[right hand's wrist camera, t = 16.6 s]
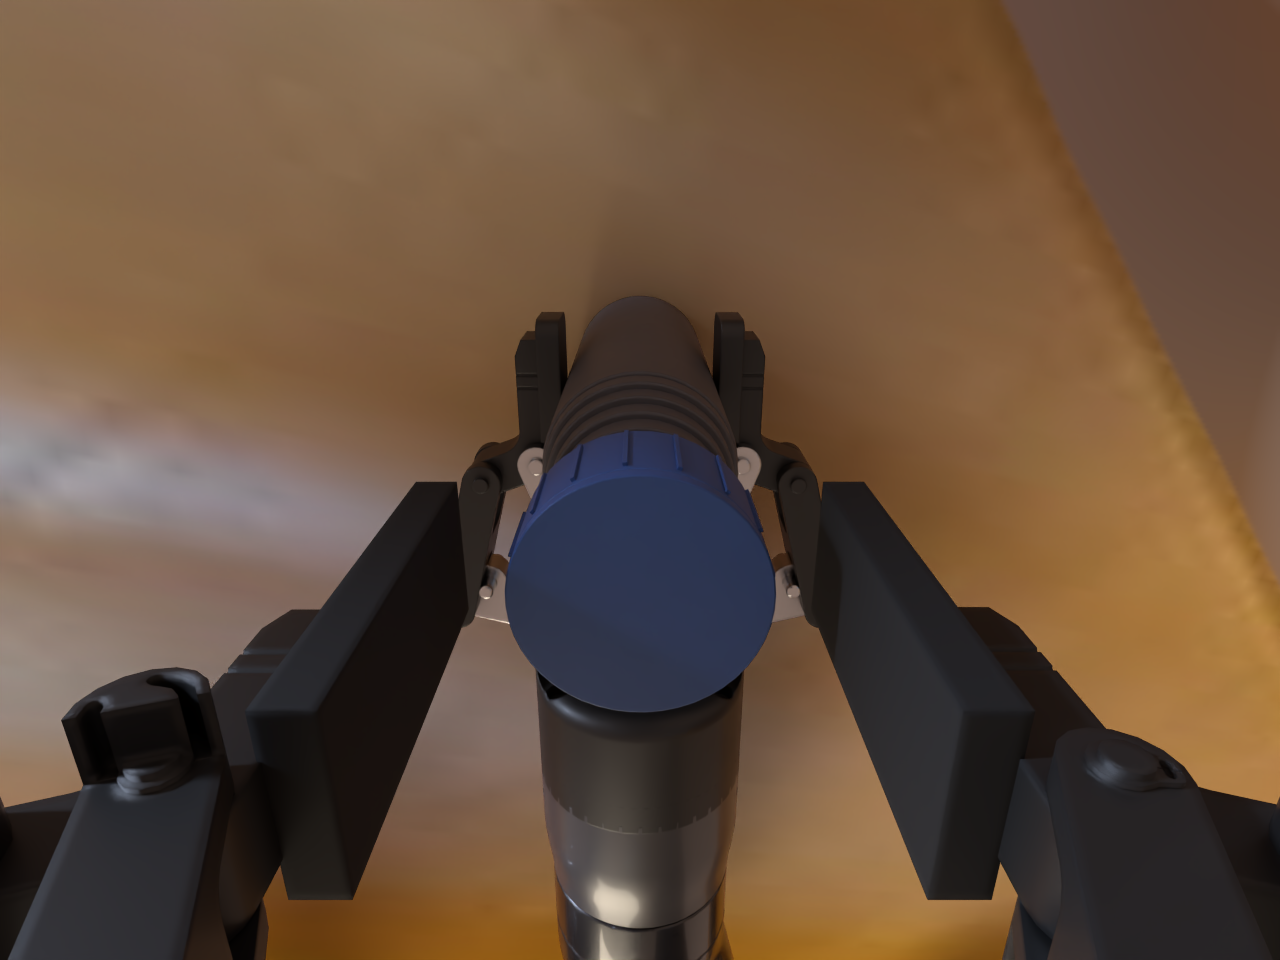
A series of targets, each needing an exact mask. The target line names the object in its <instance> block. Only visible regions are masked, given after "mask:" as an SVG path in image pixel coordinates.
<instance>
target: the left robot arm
mask: <svg viewBox="0 0 1280 960" xmlns="http://www.w3.org/2000/svg"><path fill="white" fill-rule="evenodd" d="M515 367H516V383H517V398H518V414H519V429H520V434H519V435H518V436H517V437H515V438H513V439H511V440H508V441H505V442H502V443H497V442H490V443H487V444H485V445H483V446H482V447H481V448H480V449H479V451H478V452H477V454H476V456H475V460H474V462H473V464H472V465H471V466H470V467H469V468H468V469H467V471H466V472H465V474H464V476H463V478H462V483H461V488H460V494H459V499H458V500H459V510H460V521H461V531H462V542H463V553H464V563H465V574H466V584H467V595H468V605H469V610H468V613H467V615H466V618H465V620H464V623H463V625H462V628H463V627H466V626H468V625H469V624H470V623H471V622H472V621H473V619H474V617H475V616H476V617H481V618H485V619H490V620H495V621H499V622H504V623H509V621H508V616H507V611H506V606H505V582H506V574H507V570H508V566H509V562H508V561H507V560H506V559H505V558H504V557H503V556H502V555H500V554H493V553H494V548H495V543H496V538H497V533H498V529H499V524H500V519H501V514H502V509H503V504H504V499H505V494H506V491H508V490H511V489H514V488H517V487H520V486H523V485H525V487H526V489H527V492H528V494H529V496H530V498H531V499H532V496H533V494H534V492H535V490H536V489H537V487H538V485H539V482H540V479H541V476H542V466H543V460H542V459H543V450H544V444H545V440H546V436H547V433H548V431H549V428H550V425H551V422H552V420H553V417H554V414H555V412H556V409H557V406H558V403H559V401H560V398H561V395H562V393H563V390H564V387H565V384H566V382H567V379H568V376H567V350H566V325H565V314H564V312H541V314H540V315H539V316H538V318H537V319H536V324H535V331H527V332H526V333H525V335H524V336H523V337H522V339H521V340H520V343H519V346H518V349H517V352H516V355H515ZM764 367H765V355H764V352H763V349H762V346H761V343H760V340H759V339H758V337H757V336H756V335H755V334H754V332H753V331H745V328H744V320H743V318H742V317H741V316H740V314H739V313H738V312H716V313H715V321H714V348H713V378H712V379H713V381H714V384H715V387H716V390H717V392H718V395H719V398H720V400H721V403H722V406H723V408H724V411H725V414H726V416H727V419H728V422H729V424H730V427H731V430H732V433H733V435H734V438H735V443H736V447H737V455H738V480H739V481H740V482H741V484H742V485H743V487H744V489H745V490H747V489H748V490H749V492H750V493H751V491H752V488H753V486H754V484H755V485H758V486H761V487H764V488H767V489H770V490H773V493H774V498H775V503H776V508H777V512H778V517H779V522H780V527H781V531H782V536H783V541H784V546H785V551H786V553H784V554H783V553H781V554H778V555H777V556H776V557H775V558H774V559H772V561H771V562H772V565H773V568H774V571H775V574H776V577H775V580H776V603H775V612H774V616H773V620H772V623H773V622H777V621H782V620H786V619H791V618H795V617H800V616H805V617H806V620H807V621H808V623H809V624H811V625H812V626H814V627H817V628H818V625H817V623H816V620H815V618H814V615H813V613H812V610H811V605H812V595H813V584H814V574H815V563H816V552H817V542H818V531H819V521H820V510H821V499H820V494H819V488H818V483H817V479H816V476H815V474H814V473H813V471H812V469H811V468H810V466H809V464H808V463H807V461H806V459H805V458H804V456H803V454H802V453H801V451H800V449H799V448H798V447H797V446H796V445H794V444H792V443H788V442H783V443H778V442H776V441H773V440H770V439H767V438H765V437H764V436H762V435H761V417H762V401H763V384H764ZM536 680H537V696H538V712H539V728H540V744H541V760H542V777H543V793H544V807H545V819H546V827H547V832H548V836H549V841H550V846H551V849H552V853H553V857H554V868H555V885H556V902H557V916H558V932H559V941H560V947H561V951H562V956H563V959H564V960H734V959H733V955H732V951H731V948H730V944H729V940H728V936H727V933H726V929H725V925H724V903H725V884H726V865H727V857H728V852H729V849H730V845H731V840H732V835H733V831H734V826H735V817H736V802H737V786H738V769H739V750H740V733H741V715H742V698H743V680H744V670H743V671H742V672H741V673H740V674H739V675H738V676H737V677H736V678H735V679H734V680H732V681H731V682H730V683H729V684H727V685H726V686H725V687H723V688H722V689H720V690H718V691H717V692H715V693H713V694H712V695H710V696H708V697H706V698H703V699H701V700H699V701H697V702H694V703H691V704H688V705H685V706H682V707H679V708H674V709H669V710H664V711H654V712H626V711H618V710H611V709H607V708H603V707H599V706H595V705H593V704H590V703H587V702H584V701H581V700H579V699H577V698H575V697H573V696H571V695H569V694H567V693H566V692H564V691H562V690H561V689H559V688H558V687H556V686H555V685H553V684H552V683H551V682H550V681H548V680H547V679H546V678H545V677H544V676H542V675H541V674H540V673H539V672H538V671H537V670H536Z"/></svg>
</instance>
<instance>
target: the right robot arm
mask: <svg viewBox="0 0 1280 960" xmlns="http://www.w3.org/2000/svg"><path fill="white" fill-rule="evenodd" d="M468 610H469V605H468V595H467V584H466V574H465V563H464V553H463V542H462V531H461V521H460V510H459V500H458V489H457V482H416V483H415V484H414V485H413V487H412V488H411V489H410V491H409V492H408V493H407V495H406V496H405V497H404V499H403V500H402V501H401V503H400V504H399V505H398V507H397V508H396V509H395V511H394V512H393V513H392V515H391V516H390V517H389V519H388V520H387V521H386V523H385V524H384V525H383V527H382V528H381V529H380V531H379V532H378V533H377V535H376V536H375V537H374V539H373V540H372V541H371V543H370V544H369V545H368V547H367V548H366V549H365V551H364V552H363V553H362V555H361V556H360V557H359V559H358V560H357V561H356V563H355V564H354V565H353V567H352V568H351V569H350V571H349V572H348V573H347V575H346V576H345V578H344V579H343V580H342V582H341V583H340V584H339V586H338V587H337V588H336V590H335V591H334V592H333V594H332V595H331V596H330V598H329V599H328V600H327V602H326V603H325V604H324V606H323V607H322V608H321V610H290V611H289V612H287V613H286V614H284V615H283V616H281V617H279V618H278V619H276V620H275V621H273V622H271V623H270V624H268V625H267V626H265V627H264V628H262V629H261V630H260V632H259V633H258V634H257V635H256V636H255V637H254V639H253V640H252V641H251V642H250V643H249V645H248V646H247V647H246V648H245V649H244V653H243V655H239V656H238V658H237V659H236V660H235V661H234V662H233V663H232V665H231V666H230V667H229V668H228V673H224V674H223V675H222V676H221V678H220V679H219V680H218V681H217V682H216V683H215V685H214V686H213V687H212V688H211V689H210V685H209V681H208V679H207V678H206V677H204V676H203V675H202V674H200V673H199V672H198V671H195V670H189V669H183V668H178V667H176V668H164V669H152V670H148V671H144V672H140V673H137V674H133V675H129V676H125V677H123V678H120V679H118V680H116V681H114V682H111V683H109V684H107V685H105V686H102V687H100V688H98V689H96V690H95V691H93V692H92V693H90V694H89V695H87V696H86V697H84V698H83V699H81V700H80V701H79V702H77V703H76V704H75V705H74V706H73V707H72V708H71V709H70V710H69V712H68V713H67V714H66V715H65V716H64V718H63V719H62V720H61V721H62V724H63V727H64V730H65V733H66V736H67V739H68V741H69V744H70V747H71V750H72V753H73V756H74V759H75V762H76V765H77V768H78V771H79V774H80V777H81V779H82V782H83V787H82V790H81V791H77V792H74V793H70V794H65V795H61V796H56V797H51V798H47V799H42V800H38V801H33V802H29V803H24V804H19V805H15V806H10V807H6V808H4V805H3V803H2V800H1V798H0V960H265V958H266V948H267V938H268V929H269V927H268V921H267V915H266V910H265V906H264V902H263V896H264V895H265V893H266V891H267V889H268V887H269V885H270V883H271V881H272V879H273V877H274V876H275V874H276V872H277V870H278V868H279V866H281V870H282V874H283V878H284V883H285V887H286V891H287V896H288V900H353V897H354V895H355V892H356V890H357V887H358V885H359V882H360V880H361V877H362V875H363V872H364V870H365V867H366V865H367V862H368V860H369V857H370V855H371V852H372V850H373V847H374V845H375V842H376V840H377V837H378V835H379V832H380V830H381V827H382V825H383V822H384V820H385V817H386V815H387V812H388V810H389V807H390V805H391V802H392V800H393V797H394V795H395V792H396V790H397V787H398V785H399V782H400V780H401V777H402V775H403V772H404V770H405V767H406V765H407V762H408V760H409V757H410V755H411V752H412V750H413V747H414V745H415V742H416V740H417V737H418V735H419V733H420V730H421V728H422V725H423V723H424V720H425V718H426V715H427V713H428V710H429V708H430V705H431V703H432V700H433V698H434V695H435V693H436V690H437V688H438V685H439V683H440V680H441V678H442V675H443V673H444V670H445V668H446V665H447V663H448V660H449V658H450V655H451V653H452V650H453V648H454V645H455V643H456V640H457V638H458V635H459V633H460V630H461V628H462V625H463V623H464V620H465V618H466V615H467V613H468ZM811 610H812V613H813V615H814V618H815V620H816V623H817V625H818V628H819V630H820V633H821V635H822V638H823V640H824V643H825V645H826V648H827V650H828V653H829V655H830V658H831V660H832V663H833V665H834V668H835V670H836V673H837V675H838V678H839V680H840V683H841V685H842V688H843V690H844V693H845V695H846V698H847V700H848V703H849V705H850V708H851V710H852V713H853V715H854V718H855V720H856V723H857V725H858V728H859V730H860V733H861V735H862V738H863V740H864V742H865V745H866V747H867V750H868V752H869V755H870V757H871V760H872V762H873V765H874V767H875V770H876V772H877V775H878V777H879V780H880V782H881V785H882V787H883V790H884V792H885V795H886V797H887V800H888V802H889V805H890V807H891V810H892V812H893V815H894V817H895V820H896V822H897V825H898V827H899V830H900V832H901V835H902V837H903V840H904V842H905V845H906V847H907V850H908V852H909V855H910V857H911V860H912V862H913V865H914V867H915V870H916V872H917V875H918V877H919V880H920V882H921V885H922V887H923V890H924V892H925V895H926V897H927V900H992V896H993V891H994V887H995V883H996V878H997V874H998V870H999V866H1000V862H1001V864H1002V866H1003V868H1004V870H1005V872H1006V874H1007V875H1008V877H1009V879H1010V881H1011V883H1012V885H1013V887H1014V889H1015V891H1016V892H1017V894H1018V898H1017V902H1016V906H1015V910H1014V914H1013V918H1012V922H1011V926H1010V930H1009V934H1008V938H1007V942H1006V946H1005V950H1004V954H1003V958H1002V960H1280V798H1279V800H1278V803H1277V805H1276V804H1272V803H1267V802H1262V801H1258V800H1253V799H1248V798H1244V797H1239V796H1235V795H1230V794H1225V793H1221V792H1216V791H1211V790H1208V789H1204V788H1201V787H1198V786H1197V784H1196V782H1195V781H1194V780H1193V778H1192V777H1191V775H1190V774H1189V773H1188V771H1187V770H1186V769H1185V767H1184V766H1183V765H1181V764H1180V763H1179V762H1178V761H1176V760H1175V759H1174V758H1172V757H1171V756H1170V755H1169V754H1167V753H1166V752H1165V751H1164V750H1162V749H1160V748H1158V747H1156V746H1154V745H1152V744H1150V743H1148V742H1146V741H1144V740H1142V739H1140V738H1138V737H1135V736H1131V735H1128V734H1125V733H1121V732H1118V731H1115V730H1112V729H1106V728H1105V727H1104V726H1103V725H1102V723H1101V722H1100V721H1099V720H1098V719H1097V718H1096V716H1095V715H1094V714H1093V713H1092V712H1091V710H1090V709H1089V708H1088V707H1087V706H1086V705H1085V703H1084V702H1083V701H1082V700H1081V699H1080V698H1079V696H1078V695H1077V694H1076V693H1075V692H1074V691H1073V689H1072V688H1071V687H1070V686H1069V685H1068V684H1067V682H1066V681H1065V680H1064V679H1063V678H1062V677H1061V675H1060V674H1059V673H1058V672H1057V671H1053V669H1052V665H1051V664H1050V662H1049V661H1048V660H1047V659H1046V658H1045V657H1044V655H1043V654H1042V653H1041V652H1037V647H1036V646H1035V645H1034V644H1033V643H1032V641H1031V640H1030V639H1029V638H1028V637H1027V635H1026V634H1025V633H1024V632H1023V631H1022V630H1021V628H1020V627H1019V626H1018V625H1016V624H1014V623H1013V622H1011V621H1010V620H1008V619H1007V618H1005V617H1003V616H1002V615H1000V614H999V613H997V612H995V611H994V610H992V609H991V608H989V607H957V606H956V604H955V603H954V602H953V600H952V599H951V598H950V596H949V595H948V594H947V592H946V591H945V590H944V588H943V587H942V586H941V584H940V583H939V582H938V580H937V579H936V578H935V576H934V575H933V573H932V572H931V571H930V569H929V568H928V567H927V565H926V564H925V563H924V561H923V560H922V559H921V557H920V556H919V555H918V553H917V552H916V551H915V549H914V548H913V547H912V545H911V544H910V543H909V541H908V540H907V539H906V537H905V536H904V535H903V533H902V532H901V531H900V529H899V528H898V527H897V525H896V524H895V523H894V521H893V520H892V519H891V517H890V516H889V515H888V513H887V512H886V511H885V509H884V508H883V507H882V505H881V504H880V503H879V501H878V500H877V499H876V497H875V496H874V495H873V493H872V492H871V491H870V489H869V488H868V487H867V485H866V484H865V483H864V482H823V489H822V500H821V510H820V521H819V531H818V542H817V552H816V563H815V574H814V584H813V595H812V605H811Z"/></svg>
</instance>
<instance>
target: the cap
mask: <svg viewBox="0 0 1280 960" xmlns="http://www.w3.org/2000/svg"><path fill="white" fill-rule="evenodd" d="M761 532H763V528H762V525H761V522H760V520H759V517H758V514H757V511H756V508H755V506H754V503H753V500H752V497H751V494H750V492H749V490H748V489H747V490H745V489H744V487H743V485H742V484H741V482H740V481H739V480H738V478H737V477H736V475H735V474H734V473H733V472H732V471H731V469H730V468H729V467H728V466H727V465H726V464H725V463H724V462H723V461H722V459H721V457H720V456H719V455H717V456H715V455H714V454H712V453H711V452H710V451H708V450H706V449H705V448H703V447H701V446H700V445H698V444H696V443H693V442H691V441H689V440H686V439H684V438H681V437H678V435H677V434H674V435H670V434H666V433H660V432H653V431H629V430H624V432H620V433H615V434H611V435H607V436H603V437H600V438H597V439H595V440H592V441H589V442H587V443H585V444H583V445H582V444H579V445H578V446H577V448H576V449H574V450H573V451H571V452H570V453H568V454H567V455H566V456H564V457H563V458H562V459H561V460H559V461H558V462H557V463H556V464H555V465H554V466H553V467H552V468H551V469H550V470H549V471H548V473H547V474H546V473H545V472H544V473H543V474H542V476H541V479H540V482H539V485H538V487H537V489H536V490H535V492H534V494H533V496H532V499H531V501H530V504H529V506H528V509H527V512H523V514H522V517H521V520H520V523H519V525H518V528H517V531H516V534H515V537H514V540H513V542H512V545H511V548H510V551H509V554H508V557H511V558H510V562H509V566H508V570H507V574H506V582H505V606H506V611H507V616H508V621H509V624H510V627H511V630H512V633H513V635H514V637H515V639H516V641H517V643H518V645H519V647H520V649H521V651H522V652H523V653H524V655H525V656H526V658H527V659H528V660H529V662H530V663H531V664H532V665H533V666H534V667H535V668H536V670H537V671H538V672H539V673H540V674H541V675H542V676H544V677H545V678H546V679H547V680H548V681H550V682H551V683H552V684H553V685H555V686H556V687H558V688H559V689H561V690H562V691H564V692H566V693H567V694H569V695H571V696H573V697H575V698H577V699H579V700H581V701H584V702H587V703H590V704H593V705H595V706H599V707H603V708H607V709H611V710H618V711H626V712H654V711H664V710H669V709H674V708H679V707H682V706H685V705H688V704H691V703H694V702H697V701H699V700H701V699H703V698H706V697H708V696H710V695H712V694H713V693H715V692H717V691H718V690H720V689H722V688H723V687H725V686H726V685H727V684H729V683H730V682H731V681H732V680H734V679H735V678H736V677H737V676H738V675H739V674H740V673H741V672H742V671H743V670H744V669H745V668H746V667H747V666H748V665H749V664H750V663H751V661H752V660H753V659H754V657H755V656H756V655H757V653H758V652H759V650H760V648H761V646H762V645H763V643H764V641H765V639H766V637H767V634H768V632H769V630H770V627H771V624H772V620H773V616H774V612H775V603H776V580H775V577H776V574H775V571H774V568H773V565H772V562H771V559H770V556H769V553H768V550H767V548H766V545H765V542H764V539H763V536H762V533H761Z"/></svg>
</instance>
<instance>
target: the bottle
mask: <svg viewBox="0 0 1280 960" xmlns="http://www.w3.org/2000/svg"><path fill="white" fill-rule="evenodd" d="M624 430H629V431H653V432H660V433H666V434H670V435H674V434H677V435H678V437H681V438H684V439H686V440H689V441H691V442H693V443H696V444H698V445H700V446H701V447H703V448H705V449H706V450H708V451H710V452H711V453H712V454H714V455H715V456H717V455H719V456H720V457H721V459H722V461H723V462H724V463H725V464H726V465H727V466H728V467H729V468H730V469H731V471H732V472H733V473H734V474H735V475H736V477H737V478H738V455H737V447H736V443H735V438H734V435H733V433H732V430H731V427H730V424H729V422H728V419H727V416H726V414H725V411H724V408H723V406H722V403H721V400H720V398H719V395H718V392H717V390H716V387H715V384H714V381H713V379H712V376H711V373H710V371H709V368H708V365H707V363H706V360H705V357H704V355H703V352H702V349H701V347H700V344H699V341H698V338H697V336H696V333H695V331H694V329H693V327H692V325H691V323H690V322H689V321H688V319H687V318H686V317H685V316H684V315H683V314H682V313H681V312H680V311H679V310H678V309H677V308H675V307H674V306H672V305H671V304H669V303H667V302H665V301H663V300H660V299H657V298H653V297H647V296H633V297H627V298H623V299H620V300H617V301H615V302H613V303H611V304H609V305H608V306H606V307H605V308H603V309H602V310H601V311H600V312H599V313H598V314H597V315H596V316H595V317H594V318H593V319H592V321H591V322H590V323H589V325H588V327H587V329H586V331H585V333H584V336H583V338H582V341H581V344H580V346H579V349H578V352H577V355H576V357H575V360H574V363H573V365H572V368H571V371H570V374H569V376H568V379H567V382H566V384H565V387H564V390H563V393H562V395H561V398H560V401H559V403H558V406H557V409H556V412H555V414H554V417H553V420H552V422H551V425H550V428H549V431H548V433H547V436H546V440H545V444H544V450H543V459H542V460H543V466H542V474H543V473H544V472H545V473H546V474H547V473H548V471H549V470H550V469H551V468H552V467H553V466H554V465H555V464H556V463H557V462H558V461H559V460H561V459H562V458H563V457H564V456H566V455H567V454H568V453H570V452H571V451H573V450H574V449H576V448H577V446H578V445H579V444H582V445H583V444H585V443H587V442H589V441H592V440H595V439H597V438H600V437H603V436H607V435H611V434H615V433H620V432H624Z"/></svg>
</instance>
